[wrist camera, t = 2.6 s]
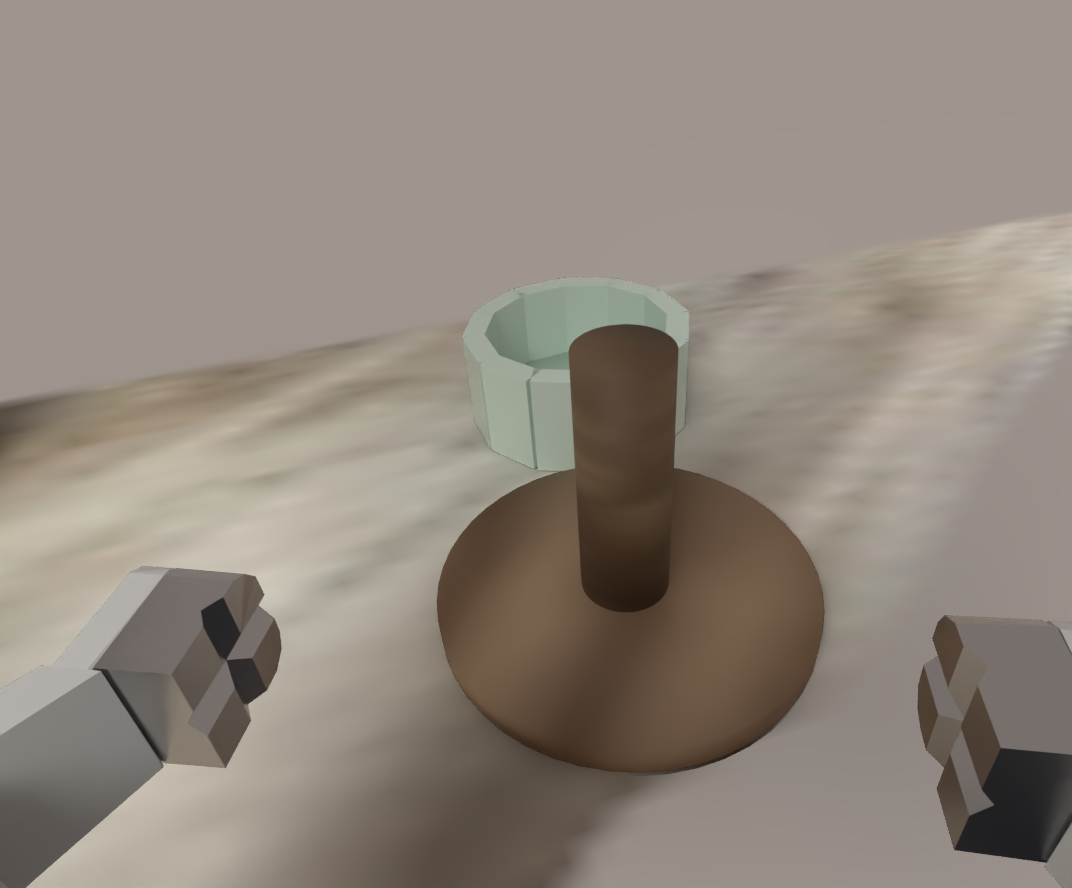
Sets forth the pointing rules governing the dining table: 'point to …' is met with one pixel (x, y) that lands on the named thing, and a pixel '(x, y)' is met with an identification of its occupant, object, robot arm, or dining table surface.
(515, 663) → the walnut lid
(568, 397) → the celadon bowl
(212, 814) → the dining table surface
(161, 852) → the dining table surface
